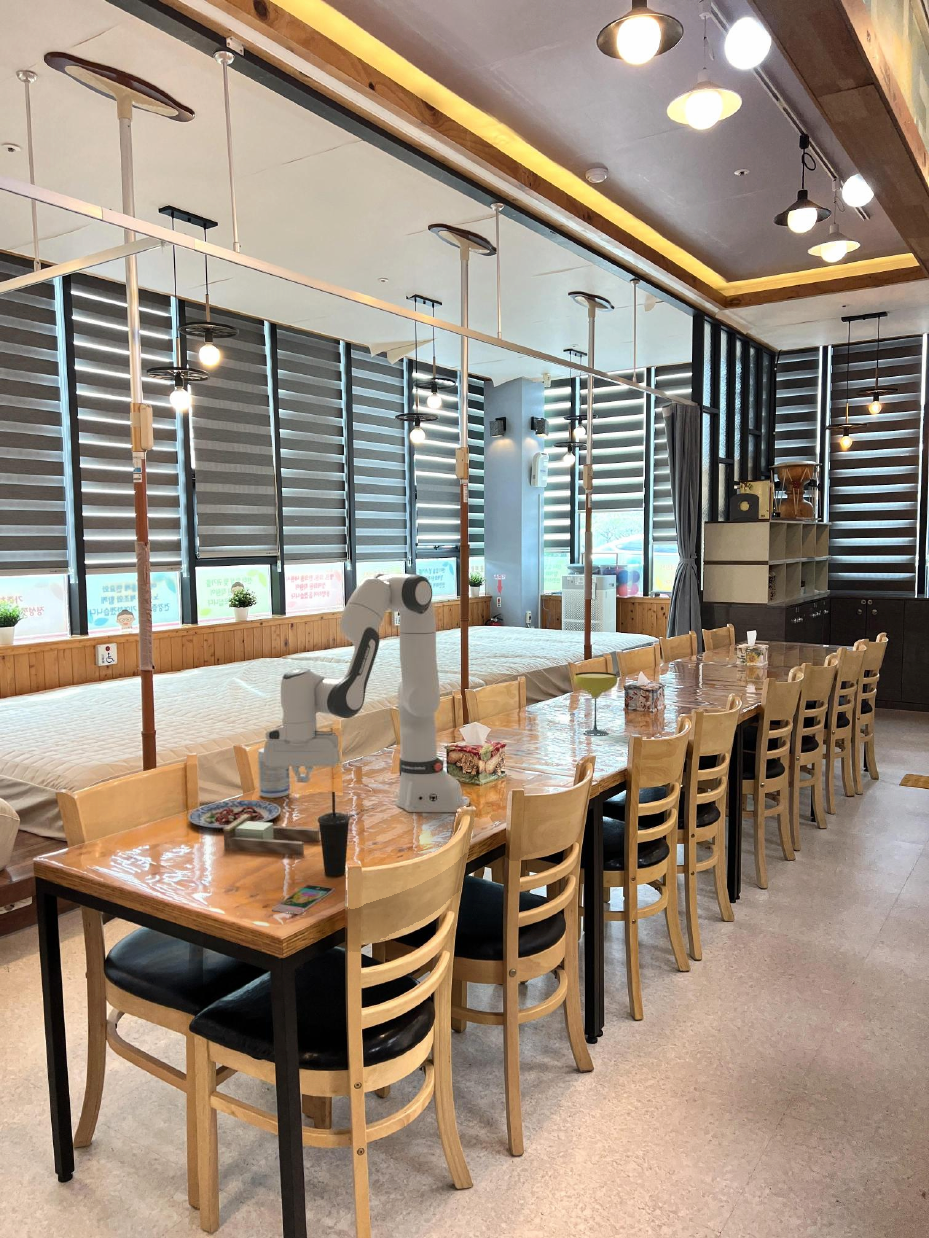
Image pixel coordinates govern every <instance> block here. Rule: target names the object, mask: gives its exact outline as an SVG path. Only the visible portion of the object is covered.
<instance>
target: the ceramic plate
mask: <svg viewBox="0 0 929 1238" xmlns="http://www.w3.org/2000/svg"><path fill="white" fill-rule="evenodd" d="M222 802H223V803H222ZM281 811H282V809H281V807H280V806H279V805H278V804H275V803H274V802H270V801H264V800H255V799H238V800H235V799H234V800H227V801H226V800H225V801H219V802H215V803H209V804H206V805H203V806H201V807H198V808H195V809H194V810H192V811H191V812H190V813H189V815H188V820H189V821H190V823H192V824H194V825H197V826H202V827H207V828H216V829H223V828H225V827H226V826H228V825H230V824H231V823H233V822H234V821H236V820H237V819H239V818H241V817H242V816H244V815H245V814H247V815H251V821H252V822H268V821H270V820H273V819H274V818H276V817H278V816H279V815H280V813H281Z"/></svg>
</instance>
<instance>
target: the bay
mask: <svg viewBox="0 0 929 1238" xmlns="http://www.w3.org/2000/svg"><path fill="white" fill-rule="evenodd" d="M245 821H251V815H247V814H245V815H244V816H242V817H241V818H239V819H237V820H236V821H234V822H233V823H231V824H230V825H228V826H226V827H225V828H222V829H223V847H224V848H223V849H224V850H228V851H240V852H241V851H242V852H252V853H253V852H255V853H265V854H266V853H267V854H278V855H279V854H280V855H289V856H290V855H292V856H293V855H294V856H302V855H304V851H305V849H304V848H305V847H304V842H315V843H318V842H319V841H321V838H320V828H309V827H296V826H292V827H291V826H283V825H282V826H281V825H280V826H279V825H273V839H274V840H271V839H257V838H244V837H235V828H236V827H237V826H239V825H240V824H242V823H243V822H245Z"/></svg>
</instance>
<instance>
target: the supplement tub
mask: <svg viewBox="0 0 929 1238" xmlns="http://www.w3.org/2000/svg"><path fill="white" fill-rule="evenodd" d="M257 753H258V754H257V759H258V760H257V762H258V763H257V764H258V768H257V769H258V788H259V789H258V791H259V792H258V793H259V795H260V797H263V798H266V799H274V798H275V799H276V798H282V797H285V796H287V795H289V794H290V792H291V788H290V787H291V785H290V784H291V783H290V766H267V765H266V764H265V762H264V747H261V748H259V749H258V752H257Z"/></svg>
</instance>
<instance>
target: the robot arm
mask: <svg viewBox="0 0 929 1238" xmlns="http://www.w3.org/2000/svg"><path fill="white" fill-rule="evenodd" d="M432 599H433V588H432V585H431V583H430V581H429V580H428V578H427V577H425V576H424V575H420V574H409V573H401V572H400V573H399V572H398V573H391V574H383V573H382V574H377V575H374V576H369V577H366V578H364V579H362V580H361V581H360V583H359V584H358V585H357V586H356V588H355V589H354V590H353V592H352V594H351V595H350V598H348V600H347V603H346V605H345V607H344V609H343V611H342V613H341V616H340V619H339V623H338V624H339V628H340V631H341V633H342V635H343V637H345V639H347V640H348V641H349V642H350V643H352V644H353V647H354V651H353V654H352V657H351V660H350V663H349V666H348V669H347V672H346V674H345V675H344V676H343V677H341V678H333V677H327V676H323V675H321V674H320V675H319V674H316V673H315V672H313V671H312V670H311V669H310V668H307V667H301V668H294V669H291V670H289V671H287V672H286V673H284V674H283V675H282V678H281V681H280V704H281V708H282V714H283V715H282V719H281V720H282V721H281V722H282V724H280V725H278V726H275V727H272V728H271V729H269V730H268V731H266V732H265V734H264V735H265V739H266V741H265V743H264V746H263V748H264V762H265V764H266V765H267V766H289V767H291V771H292V772H293V775H295V776H296V782H297V783H303V784H306V783H307V784H308V783H310V782H311V781H310V779H311V778H310V775H311V774H312V771H313V769H314V767H327V768H328V767H329V768H330V767H335V766H336V765H337V764H338V763H340V749H339V746H338V745H339V737H338V735H337V734H336V733H335V732H333V731H332V730H318V728H317V727H318V726H317V725H318V724H317V722H318V721H317V714H318V713H323V714H326V715H333V716H336V717H339V718H343V719H351V718H353V717H355V716H356V715H357V714H359V712H360V711H361V709H362V707H363V706H364V703H365V698H366V690H367V686H368V682H369V679H370V675H371V674H372V673H371V672H372V670H373V668H374V667H373V666H374V664H375V661H376V658H377V654H378V651H379V650H378V649H379V646H380V635H379V630H380V628H381V624H382V622H383V620H384V617H385V615H386V613H387V611H389V612H390V611H391V612H398V614H399V661H400V662H399V663H400V670H401V681H400V682H399V685H398V686H397V705H398V706H397V707H398V719H399V721H398V722H399V729H400V730H399V731H400V732H399V733H400V757H399V761H398V772H399V777H400V778H399V786H398V787H399V789H398V794H397V798H396V800H395V804H396V806H397V807H399V808H400V809H404V810H406V812H408V813H457V812H456V811H457V809H459V808H460V807H464V806H468V807H469V805H470V804H471V803H470V798H469V797H467V796H463V790H462V786H461V784H460V782H459V781H458V780H457V779H456V778H454V777H453V776H452V775H450V774H449V773H448V772H446V771H445V770H444V761H445V759H441V758H439V757H438V744H437V743H438V739H437V738H438V737H437V736H438V734H437V733H438V732H437V727H436V719H435V713H436V712H437V710H438V709H439V706H440V705H441V704H440V703H441V695H440V682H439V671H438V662H437V661H438V660H437V629H436V626H437V624H436V615H435V609H434V605H433V602H432ZM301 767H304V770H305V771H306V773H305V774H302V772H301V771H300V768H301ZM469 803H470V804H469Z"/></svg>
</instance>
